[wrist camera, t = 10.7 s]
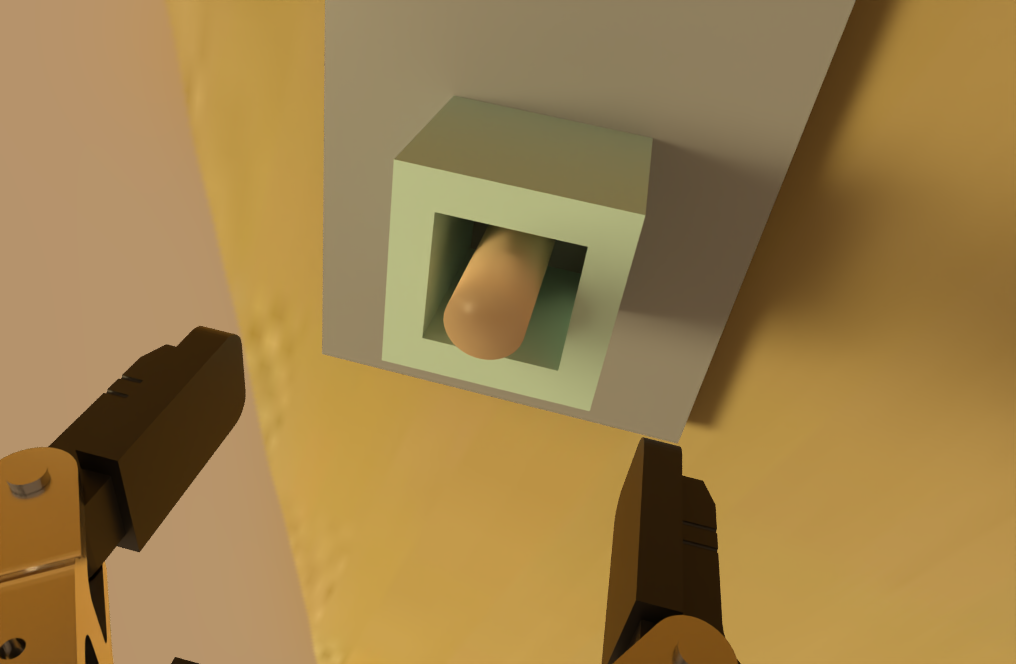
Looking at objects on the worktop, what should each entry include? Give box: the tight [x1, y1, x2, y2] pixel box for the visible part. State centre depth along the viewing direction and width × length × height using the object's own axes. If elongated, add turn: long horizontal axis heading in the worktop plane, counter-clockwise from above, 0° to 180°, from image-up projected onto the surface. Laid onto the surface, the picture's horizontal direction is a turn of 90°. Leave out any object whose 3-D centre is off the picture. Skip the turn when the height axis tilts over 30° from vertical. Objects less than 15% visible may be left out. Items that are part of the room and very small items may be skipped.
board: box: [322, 0, 856, 443], centre depth 20 cm, size 16×14×8 cm
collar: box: [382, 96, 653, 411], centre depth 21 cm, size 6×6×6 cm
